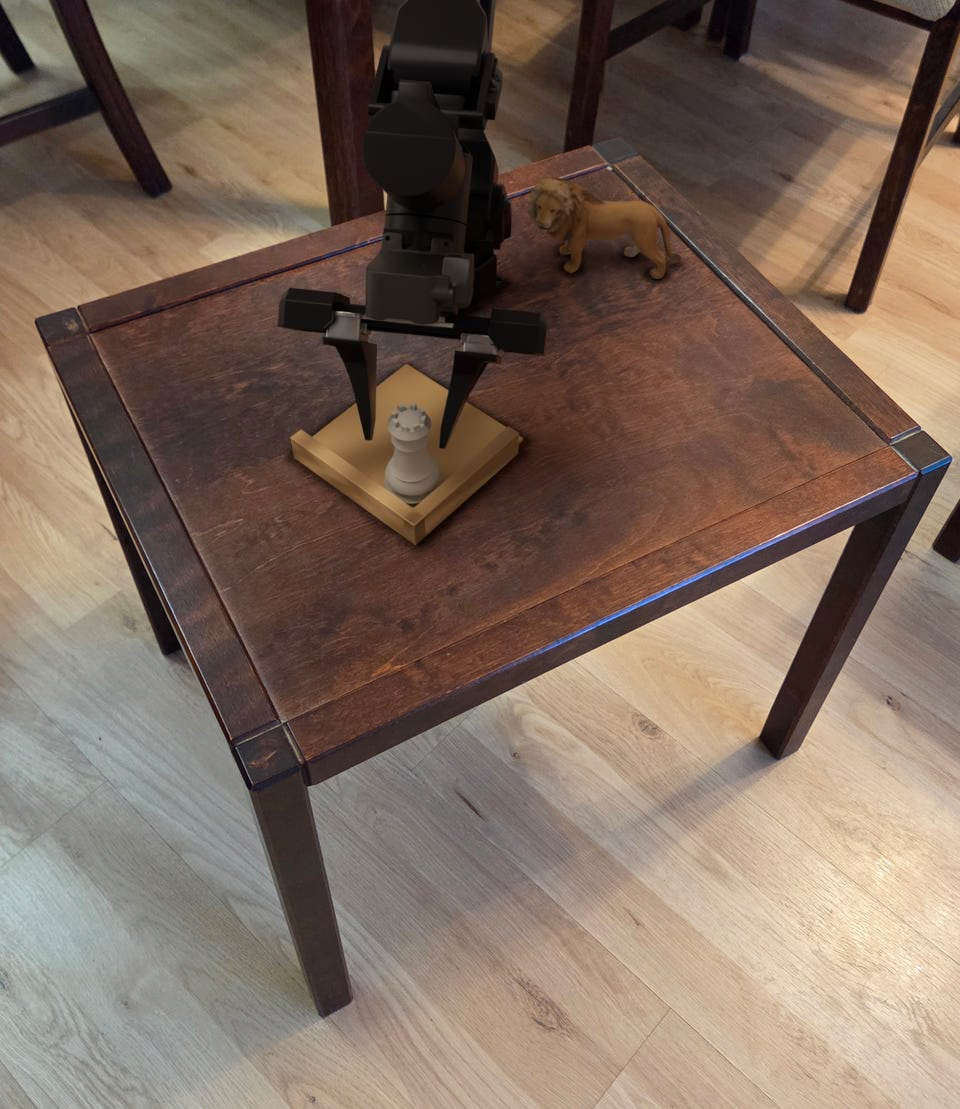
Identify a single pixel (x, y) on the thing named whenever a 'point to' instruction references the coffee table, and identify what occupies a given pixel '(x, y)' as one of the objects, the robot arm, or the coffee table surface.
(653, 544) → the coffee table surface
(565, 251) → the lion figurine
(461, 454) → the corner guide
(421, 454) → the rook chess piece
